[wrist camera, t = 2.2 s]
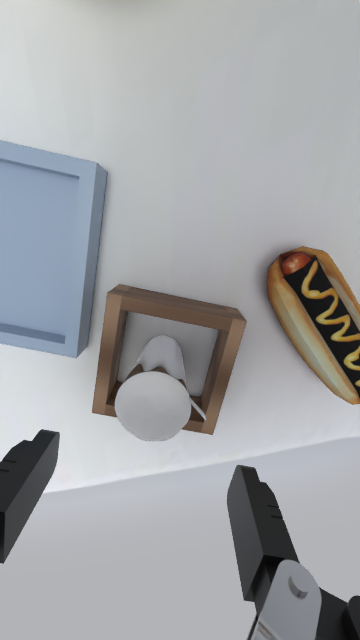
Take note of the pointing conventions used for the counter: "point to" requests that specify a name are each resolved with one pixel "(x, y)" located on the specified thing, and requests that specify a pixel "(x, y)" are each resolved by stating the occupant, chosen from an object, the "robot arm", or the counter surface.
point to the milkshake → (156, 393)
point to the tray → (48, 248)
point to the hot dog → (319, 317)
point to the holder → (178, 310)
